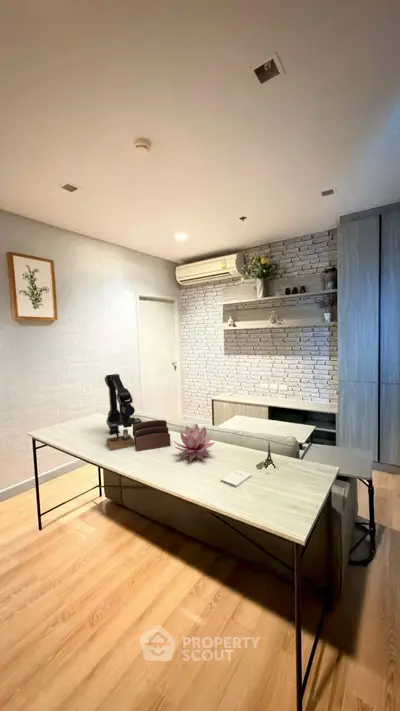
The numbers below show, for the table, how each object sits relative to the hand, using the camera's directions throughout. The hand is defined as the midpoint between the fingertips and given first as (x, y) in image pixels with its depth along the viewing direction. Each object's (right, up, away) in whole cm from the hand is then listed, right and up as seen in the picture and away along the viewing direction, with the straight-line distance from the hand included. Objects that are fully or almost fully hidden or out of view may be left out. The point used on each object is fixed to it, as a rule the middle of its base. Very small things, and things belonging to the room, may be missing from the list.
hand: (126, 437), depth 179 cm
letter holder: (+17, -4, -4) cm, 18 cm away
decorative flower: (+42, -4, -22) cm, 47 cm away
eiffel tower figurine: (+78, -5, -35) cm, 86 cm away
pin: (0, -3, 0) cm, 3 cm away
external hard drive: (+61, -6, -47) cm, 77 cm away
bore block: (-3, -4, -1) cm, 5 cm away
